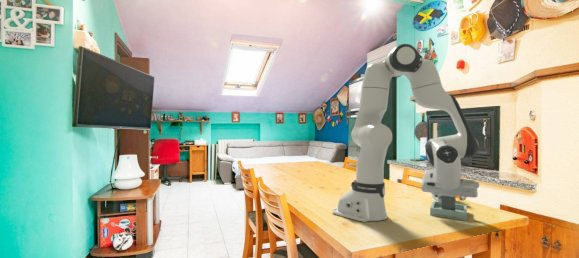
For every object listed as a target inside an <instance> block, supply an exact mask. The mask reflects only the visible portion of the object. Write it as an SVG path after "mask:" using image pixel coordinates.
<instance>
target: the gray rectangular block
mask: <svg viewBox="0 0 579 258" xmlns="http://www.w3.org/2000/svg"><path fill="white" fill-rule="evenodd" d="M455 204H456V195H447V194H442V209H446V210H453V211H455Z"/></svg>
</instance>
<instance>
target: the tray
mask: <svg viewBox="0 0 579 258" xmlns="http://www.w3.org/2000/svg"><path fill="white" fill-rule="evenodd" d="M467 210H468V209H467V205H466V204H459V203H455V211H453V210H446V209H442V202H438V201H437V200H432V202H431V205H430V208H429V215H430V216H433V217H441V218H447V219H453V220H459V221H460V220H461V221H465V222H466V221H467V220H468V218H467V217H468V216H467V215H468V212H467Z"/></svg>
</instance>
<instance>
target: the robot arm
mask: <svg viewBox="0 0 579 258" xmlns="http://www.w3.org/2000/svg"><path fill="white" fill-rule="evenodd" d="M402 76H405V77H406V78H407V80H408V82H409V83H410V89H411V92H412V97H413V99H414V101H415V103H416V104H417V105H419V106H421V107H422V108H425V109H430V110H431V109H432V110H440V111H444V112H445V113H448V115H449V116H450V118H451V120H452V122H453V124H454V127H455V129H456V131H457V133H455V134H451V135H450V134H449V135H445V136H439V137H435V138H429V139H428V140H427V141H426V143H425V145H424V147H425V156H426V160H427V162H428V164H430V165H431V166H433V167H434V168H433V169H426V170H425V171H424V173H423V176H422V181H421V191H422V192H425V193H431V195H432V194H433V195H434V197H438V193H439V194H447V195H456V196H457V197H459V201H461V202H462V201H464V200H465V199H467V198H474V199H476V198H477V197H478V193H479V192H478V188H479V187H480V183H479V182H478V181H475V180H474V179H463V178H462V174H461V173H462V172H461V170H462V162H461V159H463V160H464V159H473V158H474V157H475V156H476V155H477V154H478V153H479V151H480V145H479V142H478V140H477V138H476V137H475V135H474V133H473V131H472V129H471V127H470V125H469V123H468V120H467V119H466V116H465V113H464V112H463V109H462V108H461V106H460V104H459V102H458V100H457V99H456V97H455V96H454V95H453V94H452V93H451V94H450V93H448V92H447V91H446V89H444V87H443V84H442V82H441V77H440V74H439V72H438V70H437V66H436V65H435V63H434V62H433V60H431V59H423V56H422V55H421V54H420V53H419V51H418V50H417V48H415V47H414V45H412V44H409V43H401V44H399V45H397V46H395V47H393V48H392V50H391V51H389V52H388V53H387V55H386V56H385V57H384V59H383V60H382V62H373V63H371V64H369V65H368V66H366V69H365V71H364V75H363V78H362V79H363V80H362V85H361V91H360V99H359V100H360V101H359V106H358V107H359V108H358V111H357V115H356V119H355V121H354V127H352V130H351V131H350V133H351V139H352V141H353V143H354V144H356V146H358V147H359V148H360V150H359V155H358V159H357V161H356V164H355V165H356V167H355V168H356V169H355V171H356V173H355V175H356V176H355V177H356V178H355V179H354V180H353V181H352V182H351V183H350V187H351V189H350V190H348V191H347V192H345V193H344V194H343V195H342V196H340V197H339V199H338V203H337V205H336V206H335V207H333V208H332V214H334V215H337V216H340V217H343V218H348V219H351V220H355V221H359V222H363V223H365V222H366V223H367V222H376V221H383V220H386V219H388V213H387V209H386V205H385V204H386V203H385V195H386V186H385V181H384V180H385V179H384V177H385V176H384V171H385V170H384V169H385V161H386V156H387V152H388V148H389V146H390V145H391V143H392V141H393V133H392V132H393V131H392V130H391V129H390V128H389V127H388V126H387V125H385V124H383V123H382V121H383V118H384V115H385V113H386V112H387V109H388V102H389V96H390V95H389V94H390V83H391V81H392V79H397V78H400V77H402Z"/></svg>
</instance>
